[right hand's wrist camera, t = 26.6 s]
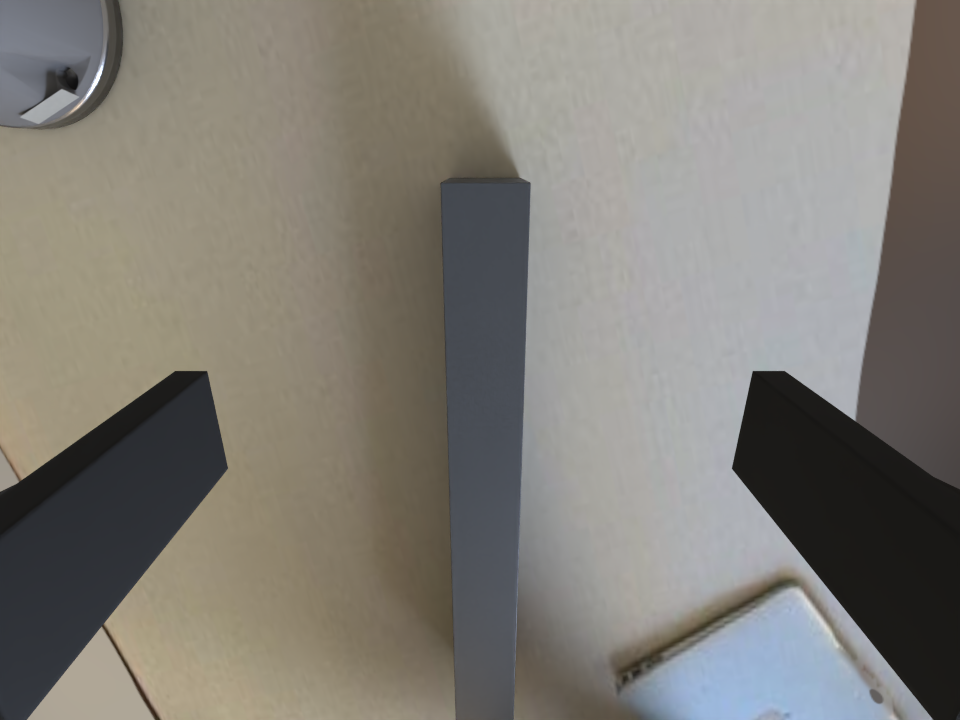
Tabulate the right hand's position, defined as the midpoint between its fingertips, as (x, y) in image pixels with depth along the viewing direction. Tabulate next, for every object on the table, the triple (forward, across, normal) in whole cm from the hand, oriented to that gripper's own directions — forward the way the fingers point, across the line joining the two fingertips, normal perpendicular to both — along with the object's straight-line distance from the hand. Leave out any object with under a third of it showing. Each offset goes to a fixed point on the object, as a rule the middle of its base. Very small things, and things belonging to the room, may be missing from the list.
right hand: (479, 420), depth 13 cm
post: (+29, 0, -21) cm, 36 cm away
